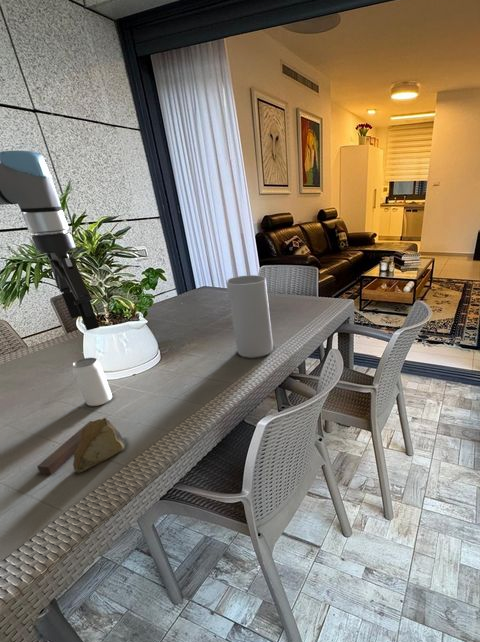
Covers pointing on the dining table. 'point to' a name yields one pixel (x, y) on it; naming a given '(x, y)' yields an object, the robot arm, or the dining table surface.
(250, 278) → the cylinder vase
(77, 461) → the rock
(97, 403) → the can
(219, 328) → the dining table surface
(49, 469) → the walnut stick
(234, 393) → the dining table surface
